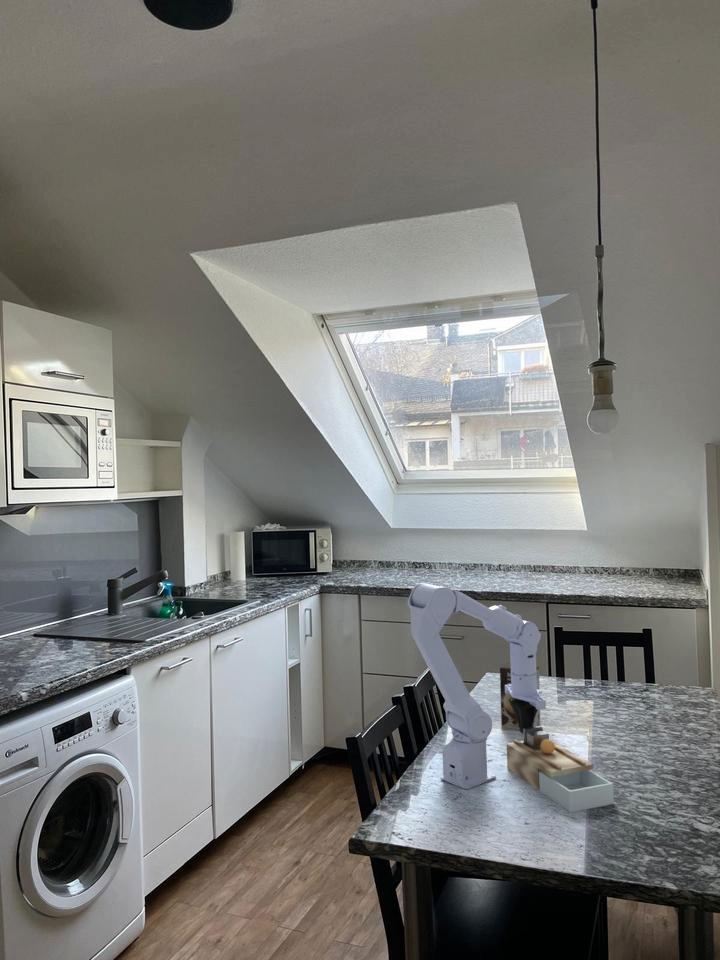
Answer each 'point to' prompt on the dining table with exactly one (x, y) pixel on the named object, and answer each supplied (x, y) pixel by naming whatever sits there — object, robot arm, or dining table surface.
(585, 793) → the open box
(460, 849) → the dining table surface
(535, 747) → the brushed steel stepped cube
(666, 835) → the dining table surface
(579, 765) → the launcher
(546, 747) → the ball
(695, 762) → the dining table surface
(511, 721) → the coffee box
